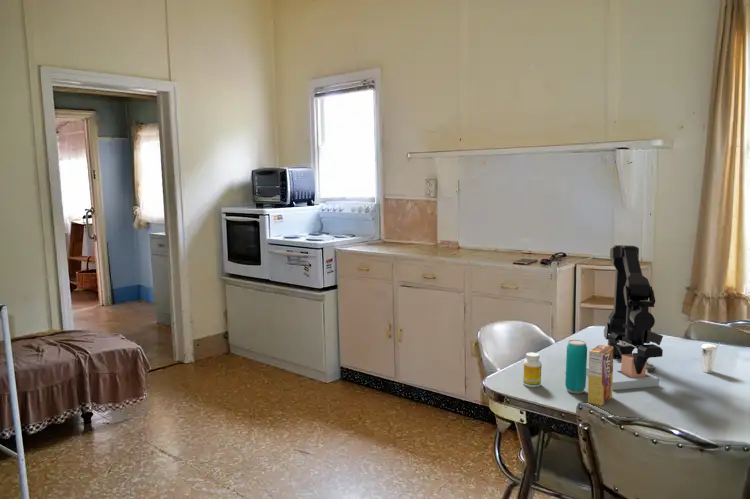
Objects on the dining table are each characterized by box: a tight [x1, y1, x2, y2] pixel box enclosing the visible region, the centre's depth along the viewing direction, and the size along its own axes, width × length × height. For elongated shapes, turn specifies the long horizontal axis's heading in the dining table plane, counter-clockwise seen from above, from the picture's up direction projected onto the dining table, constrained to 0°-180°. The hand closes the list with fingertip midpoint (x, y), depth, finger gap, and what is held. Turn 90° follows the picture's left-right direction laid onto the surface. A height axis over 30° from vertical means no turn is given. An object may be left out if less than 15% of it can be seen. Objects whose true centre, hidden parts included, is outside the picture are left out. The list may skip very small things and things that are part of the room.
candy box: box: [587, 343, 614, 407], centre depth 173 cm, size 9×4×15 cm, turn 140°
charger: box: [620, 353, 647, 378], centre depth 189 cm, size 5×5×6 cm
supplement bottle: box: [522, 351, 542, 388], centre depth 186 cm, size 5×5×10 cm
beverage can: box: [564, 339, 588, 395], centre depth 180 cm, size 6×6×15 cm
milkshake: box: [700, 342, 721, 374], centre depth 198 cm, size 4×5×10 cm
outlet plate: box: [586, 362, 660, 391], centre depth 191 cm, size 16×16×2 cm
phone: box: [620, 359, 656, 373], centre depth 203 cm, size 10×6×1 cm, turn 13°
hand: (633, 371), depth 189 cm, fingers closed on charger, 5 cm apart
